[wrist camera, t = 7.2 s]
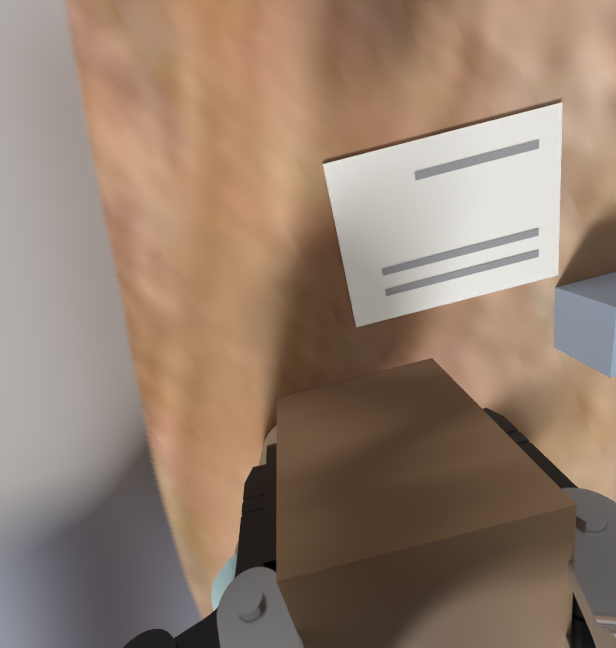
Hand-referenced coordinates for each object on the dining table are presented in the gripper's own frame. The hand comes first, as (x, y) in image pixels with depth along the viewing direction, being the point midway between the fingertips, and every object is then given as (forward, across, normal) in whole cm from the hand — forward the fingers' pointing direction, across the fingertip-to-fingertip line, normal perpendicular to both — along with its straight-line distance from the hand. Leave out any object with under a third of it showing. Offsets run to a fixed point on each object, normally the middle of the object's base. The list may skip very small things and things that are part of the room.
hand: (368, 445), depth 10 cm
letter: (+15, -10, -3) cm, 18 cm away
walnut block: (0, 0, 0) cm, 0 cm away
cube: (+15, -20, +6) cm, 26 cm away
